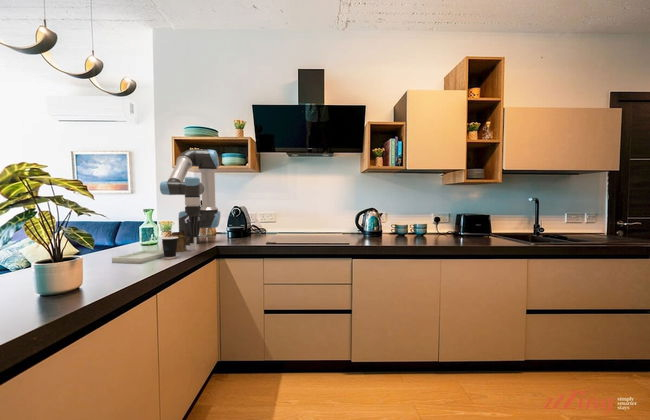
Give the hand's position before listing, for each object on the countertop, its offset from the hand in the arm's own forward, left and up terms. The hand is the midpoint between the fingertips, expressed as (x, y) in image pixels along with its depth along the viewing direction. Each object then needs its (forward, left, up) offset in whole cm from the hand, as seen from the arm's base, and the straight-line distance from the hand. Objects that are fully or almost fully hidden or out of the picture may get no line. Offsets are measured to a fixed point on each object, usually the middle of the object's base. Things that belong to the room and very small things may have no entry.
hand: (193, 249), depth 153 cm
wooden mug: (-11, -15, -4) cm, 19 cm away
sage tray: (+12, -20, -4) cm, 24 cm away
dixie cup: (+9, -7, -4) cm, 12 cm away
